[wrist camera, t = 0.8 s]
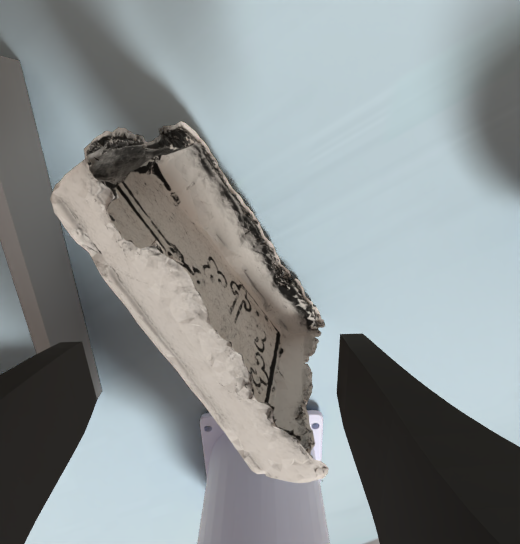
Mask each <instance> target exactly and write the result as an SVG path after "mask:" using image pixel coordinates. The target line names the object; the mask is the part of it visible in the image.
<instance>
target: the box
mask: <svg viewBox="0 0 520 544" xmlns="http://www.w3.org/2000/svg"><path fill="white" fill-rule="evenodd" d="M52 193H53V192H52V188H51V184H50V180H49V176H48V172H47V168H46V164H45V160H44V156H43V152H42V148H41V144H40V140H39V136H38V132H37V128H36V124H35V120H34V116H33V112H32V108H31V104H30V100H29V96H28V92H27V88H26V84H25V80H24V76H23V72H22V68H21V64H20V61H19V60H15V59H11V58H7V57H4V56H0V241H1V244H2V247H3V250H4V254H5V257H6V260H7V263H8V266H9V269H10V272H11V275H12V279H13V282H14V285H15V288H16V291H17V294H18V297H19V300H20V303H21V307H22V310H23V313H24V316H25V319H26V322H27V325H28V328H29V332H30V335H31V338H32V341H33V344H34V347H35V350H36V353H37V354H38V353H40V352H42V351H44V350H46V349H47V348H49V347H51V346H53V345H56V344H58V343H60V342H82V343H83V347H84V351H85V355H86V358H87V362H88V366H89V370H90V374H91V378H92V382H93V385H94V389H95V393H96V397H97V399H98V398H99V396H100V394H101V392H102V388H101V384H100V380H99V376H98V372H97V368H96V364H95V360H94V356H93V352H92V348H91V344H90V340H89V336H88V332H87V328H86V324H85V320H84V316H83V312H82V308H81V304H80V300H79V296H78V292H77V288H76V284H75V280H74V276H73V272H72V268H71V264H70V260H69V256H68V252H67V248H66V244H65V240H64V236H63V232H62V228H61V224H60V220H59V218H58V217H57V215H56V214H55V213H54V210H53V206H52V203H51V200H50V198H51V195H52Z"/></svg>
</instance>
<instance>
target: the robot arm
mask: <svg viewBox="0 0 520 544" xmlns="http://www.w3.org/2000/svg"><path fill="white" fill-rule="evenodd" d="M337 397H338V402H339V408H340V413H341V417H342V422H343V427H344V430H345V433H346V437H347V440H348V443H349V446H350V449H351V452H352V455H353V458H354V461H355V464H356V467H357V470H358V473H359V476H360V479H361V482H362V485H363V488H364V491H365V494H366V497H367V500H368V503H369V506H370V509H371V512H372V516H373V519H374V523H375V526H376V530H377V534H378V538H379V542H380V544H520V447H519V446H517V445H515V444H513V443H512V442H510V441H508V440H506V439H505V438H503V437H501V436H499V435H498V434H496V433H494V432H493V431H491V430H489V429H488V428H486V427H485V426H483V425H481V424H480V423H478V422H477V421H475V420H474V419H472V418H470V417H469V416H467V415H466V414H464V413H462V412H461V411H460V410H458V409H457V408H455V407H454V406H452V405H451V404H449V403H448V402H446V401H445V400H444V399H442V398H441V397H440V396H438V395H437V394H435V393H434V392H433V391H431V390H430V389H429V388H427V387H426V386H425V385H423V384H422V383H421V382H419V381H418V380H417V379H416V378H414V377H413V376H412V375H411V374H409V373H408V372H407V371H406V370H404V369H403V368H402V367H401V366H400V365H398V364H397V363H396V362H395V361H394V360H392V359H391V358H390V357H389V356H388V355H387V354H386V353H384V352H383V351H382V350H381V349H380V348H379V347H377V346H376V345H375V344H374V343H373V342H372V341H371V340H369V339H368V338H367V337H366V336H365V335H363V334H340V347H339V364H338V381H337ZM96 402H97V397H96V393H95V389H94V385H93V382H92V378H91V374H90V370H89V366H88V362H87V358H86V355H85V351H84V347H83V343H82V342H60V343H58V344H56V345H53V346H51V347H49V348H47V349H46V350H44V351H42V352H40V353H38V354H36V355H35V356H33V357H31V358H29V359H28V360H26V361H24V362H22V363H21V364H19V365H17V366H15V367H14V368H12V369H10V370H8V371H7V372H5V373H3V374H1V375H0V544H24V543H25V541H26V539H27V537H28V535H29V533H30V531H31V529H32V527H33V525H34V523H35V521H36V519H37V517H38V516H39V514H40V512H41V510H42V509H43V507H44V505H45V503H46V501H47V500H48V498H49V496H50V494H51V492H52V491H53V489H54V487H55V485H56V484H57V482H58V480H59V478H60V476H61V475H62V473H63V471H64V469H65V467H66V466H67V464H68V462H69V460H70V458H71V457H72V455H73V453H74V451H75V449H76V448H77V446H78V444H79V442H80V440H81V438H82V436H83V434H84V432H85V430H86V427H87V425H88V423H89V420H90V418H91V415H92V412H93V410H94V407H95V404H96ZM307 412H308V415H309V422H310V427H311V429H312V430H313V435H314V440H315V446H314V447H313V448H312V450H311V453H310V454H311V455H312V457H313V459H314V460H319V461H321V459H322V435H323V416H322V413H321V412H320V411H317V410H307ZM313 423H317V424H315V425H314V424H313ZM207 426H210V427H207ZM200 428H201V436H202V444H203V452H204V460H205V468H206V476H207V482H206V489H205V495H204V502H203V509H202V515H201V522H200V529H199V535H198V542H197V544H330V540H329V534H328V528H327V522H326V516H325V510H324V504H323V498H322V492H321V486H320V482H321V479H318V480H314V481H312V482H307V483H293V482H288V481H283V480H279V479H274V478H270V477H268V476H266V475H265V474H256V473H254V472H253V471H251V469H250V468H249V466H248V465H247V464H246V462H245V461H244V459H243V458H242V457H241V455H240V454H239V452H238V451H237V449H236V448H235V447H234V445H233V444H232V443H231V441H230V440H229V438H228V437H227V435H226V434H225V432H224V431H223V430H222V429H221V427H220V426H219V425H218V423H217V422H216V421H215V419H214V418H213V417H212V415H211V414H210V413H205V414H203V415H202V416H201V418H200Z"/></svg>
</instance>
